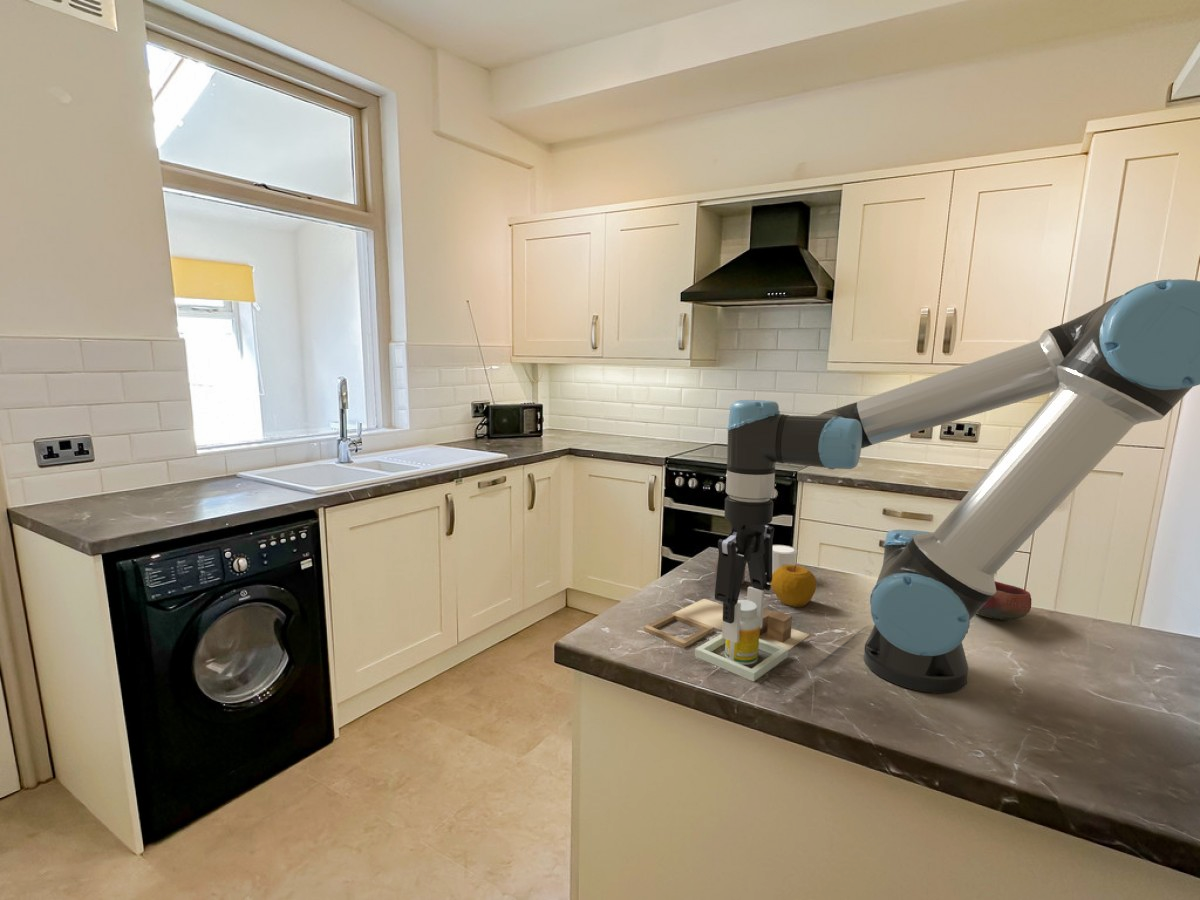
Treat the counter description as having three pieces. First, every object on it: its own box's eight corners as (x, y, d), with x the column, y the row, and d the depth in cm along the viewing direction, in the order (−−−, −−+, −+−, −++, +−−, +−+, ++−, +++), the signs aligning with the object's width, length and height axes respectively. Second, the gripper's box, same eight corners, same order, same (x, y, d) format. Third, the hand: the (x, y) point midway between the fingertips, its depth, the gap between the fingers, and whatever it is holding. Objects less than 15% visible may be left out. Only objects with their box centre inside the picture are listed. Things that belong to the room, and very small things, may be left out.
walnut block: (773, 627, 109) (774, 611, 109) (756, 637, 105) (757, 621, 105) (744, 617, 114) (745, 602, 113) (727, 626, 109) (728, 611, 109)
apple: (760, 605, 122) (762, 564, 121) (783, 594, 128) (785, 555, 127) (801, 620, 115) (803, 576, 114) (823, 607, 121) (825, 565, 120)
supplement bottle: (718, 656, 99) (720, 603, 97) (738, 646, 102) (741, 594, 100) (744, 670, 95) (747, 615, 93) (764, 659, 98) (767, 605, 96)
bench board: (809, 641, 107) (811, 613, 106) (783, 660, 100) (784, 631, 99) (703, 603, 123) (704, 580, 122) (674, 618, 116) (675, 592, 115)
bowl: (945, 600, 126) (948, 564, 125) (1013, 608, 123) (1018, 571, 121) (971, 633, 110) (975, 593, 109) (1050, 642, 107) (1055, 601, 106)
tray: (787, 663, 99) (788, 649, 98) (753, 688, 91) (754, 673, 90) (730, 641, 106) (730, 628, 106) (694, 662, 98) (695, 648, 98)
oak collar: (713, 637, 108) (713, 627, 107) (683, 654, 101) (683, 643, 101) (673, 622, 114) (674, 612, 114) (643, 637, 107) (643, 626, 107)
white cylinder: (775, 570, 143) (777, 542, 142) (801, 578, 138) (803, 549, 137) (759, 576, 139) (760, 547, 138) (784, 585, 134) (786, 555, 133)
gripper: (759, 484, 104) (752, 608, 107) (693, 502, 90) (688, 644, 93) (799, 491, 99) (791, 621, 102) (736, 511, 85) (729, 661, 88)
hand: (742, 632), depth 98 cm, fingers open, 7 cm apart
